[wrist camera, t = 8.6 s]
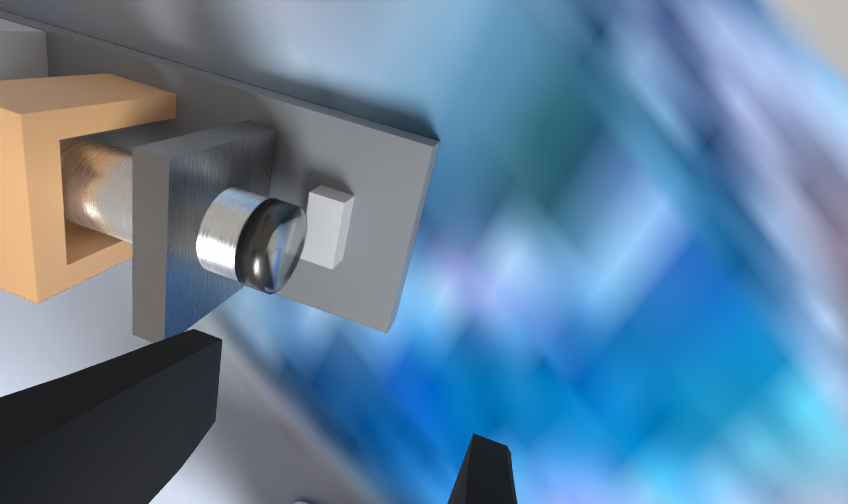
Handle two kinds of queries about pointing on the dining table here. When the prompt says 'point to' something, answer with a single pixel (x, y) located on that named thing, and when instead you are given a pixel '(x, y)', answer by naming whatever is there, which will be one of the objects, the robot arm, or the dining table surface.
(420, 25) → the dining table surface
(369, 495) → the dining table surface
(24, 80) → the block
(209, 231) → the shaft
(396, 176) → the rail
